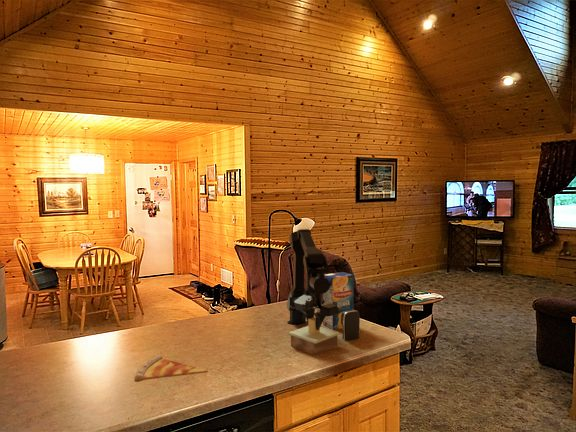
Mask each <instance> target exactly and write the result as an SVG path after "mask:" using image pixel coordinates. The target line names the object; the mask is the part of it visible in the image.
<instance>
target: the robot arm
mask: <svg viewBox="0 0 576 432" xmlns="http://www.w3.org/2000/svg"><path fill="white" fill-rule="evenodd" d="M288 240H289V244H290V245H289V246H290V248H291V249H292V251H293V286H292V287H291V289H290V290H289V296H288V298H287V299H286V300H287V301H286V308H287V310H288V311H289V320H288V321H287V323H288V324H290V325H293V326H295V325H296V326H299V325H304V324H308V319H310V318H313V317H315V318H316V330H319V329H320V327H322V325H323V320H324V318H325V317H326V316H332V315H335V314H338V313H339V307H338V306H337V305H333V304H327V305H323V304H324V303H325V301H324V300H323V294H324V293H326V292H327V291H328V290H329V288H330V283H329V281H328V279H327V278H325V277H324V275H325V274H329V269H330V266H329V263H328V260H327V258H326V255H325V253H324V252H323V251H322V250H321V249H319V248H317V246H316V244H315V242H314V239H313V236H312V231H311V229H309V228H302V229H301V228H300V229H298V230H297V231H293V232H291V233H290V234H289V237H288ZM305 273H306V288H305ZM315 311H316V312H315Z"/></svg>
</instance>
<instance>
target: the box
mask: <svg viewBox="0 0 576 432" xmlns="http://www.w3.org/2000/svg"><path fill="white" fill-rule="evenodd" d="M290 347H292V348H295V349H297V350H300V351H302V352H305V353H308V354H311V355H313V356H317V355H320V354H322V353H325V352H327V351H330V350H332V349H334V348H337V347H338V335H337V336H334V337H332V338H329V339H326V340H324V341H321V342H319V343H316V344H315V343H312V342H309V341H306V340H304V339H301V338H298V337H295V336H292V335H290Z"/></svg>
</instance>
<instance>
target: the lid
mask: <svg viewBox="0 0 576 432" xmlns="http://www.w3.org/2000/svg"><path fill="white" fill-rule="evenodd" d="M288 335H290V336H291V335H292V336H295V337H298V338H301V339H304V340H306V341H309V342H312V343H315V344H316V343H319V342H321V341H324V340H326V339H329V338H332V337H334V336H337V337H338V336H339V335H340V332H339V331H336V330H334V329H333V330H332V329H330V328H328V327H325V326H324V327H323V326H321V327H320V329H319V330H316V317H315V316H314V317H313V318H310V319H308V323H307V326H303V327H301V328H298V329H294V330H292V331H289V332H288Z"/></svg>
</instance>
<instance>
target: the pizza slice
mask: <svg viewBox="0 0 576 432" xmlns="http://www.w3.org/2000/svg"><path fill="white" fill-rule="evenodd" d="M197 373H198V374H199V373H200V374H201V373H208V370H207V369H203V368H200V367H196V366H193V365H188V364H184V363H180V362H178V361H174V360H170V359H166V358H164V357H163V356H162V355H161V354H157V355H155V356H153V357H151V358H150V359H148V360H147V361H146V362H143V364H142V365H141V366H140V367H139V368H138V369H137V370H136V373H135V375H134V381H138V380H147V379H148V380H149V379H156V378H158V379H159V378H165V377H174V376H182V375H190V374H197Z"/></svg>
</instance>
